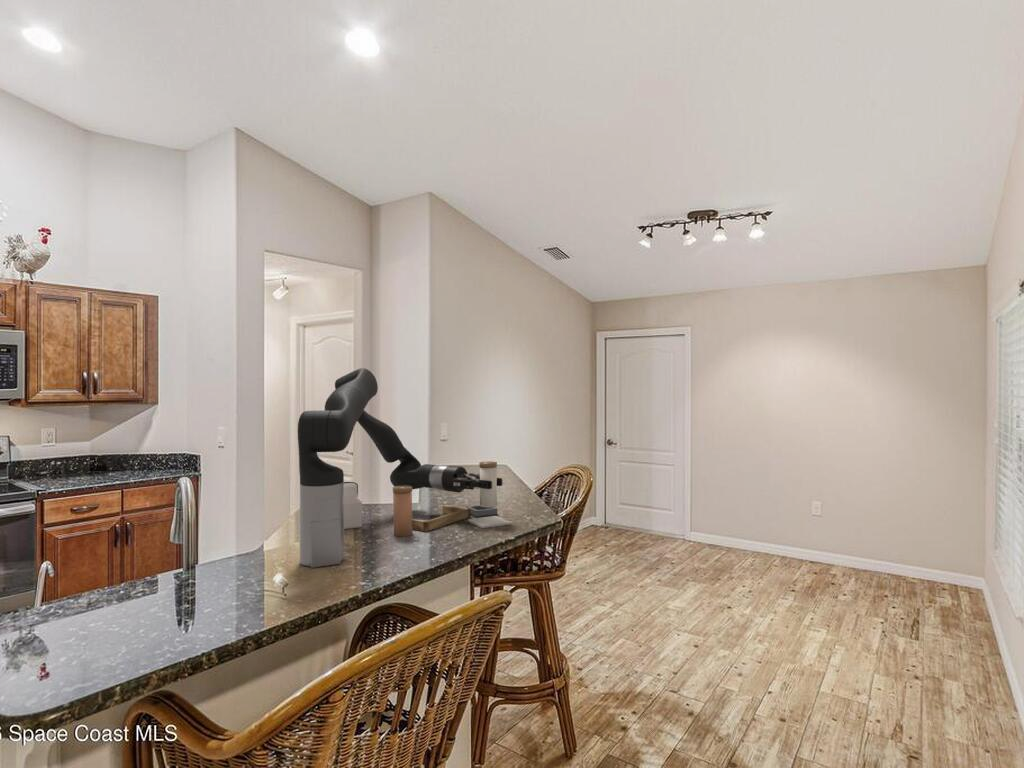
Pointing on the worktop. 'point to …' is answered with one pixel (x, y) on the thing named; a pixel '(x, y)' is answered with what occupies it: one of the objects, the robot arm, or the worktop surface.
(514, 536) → the worktop surface
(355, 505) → the medicine bottle
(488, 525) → the white square tile
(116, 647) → the worktop surface
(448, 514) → the wooden tray
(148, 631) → the worktop surface
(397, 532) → the terracotta jar
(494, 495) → the spice jar
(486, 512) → the hole dish
